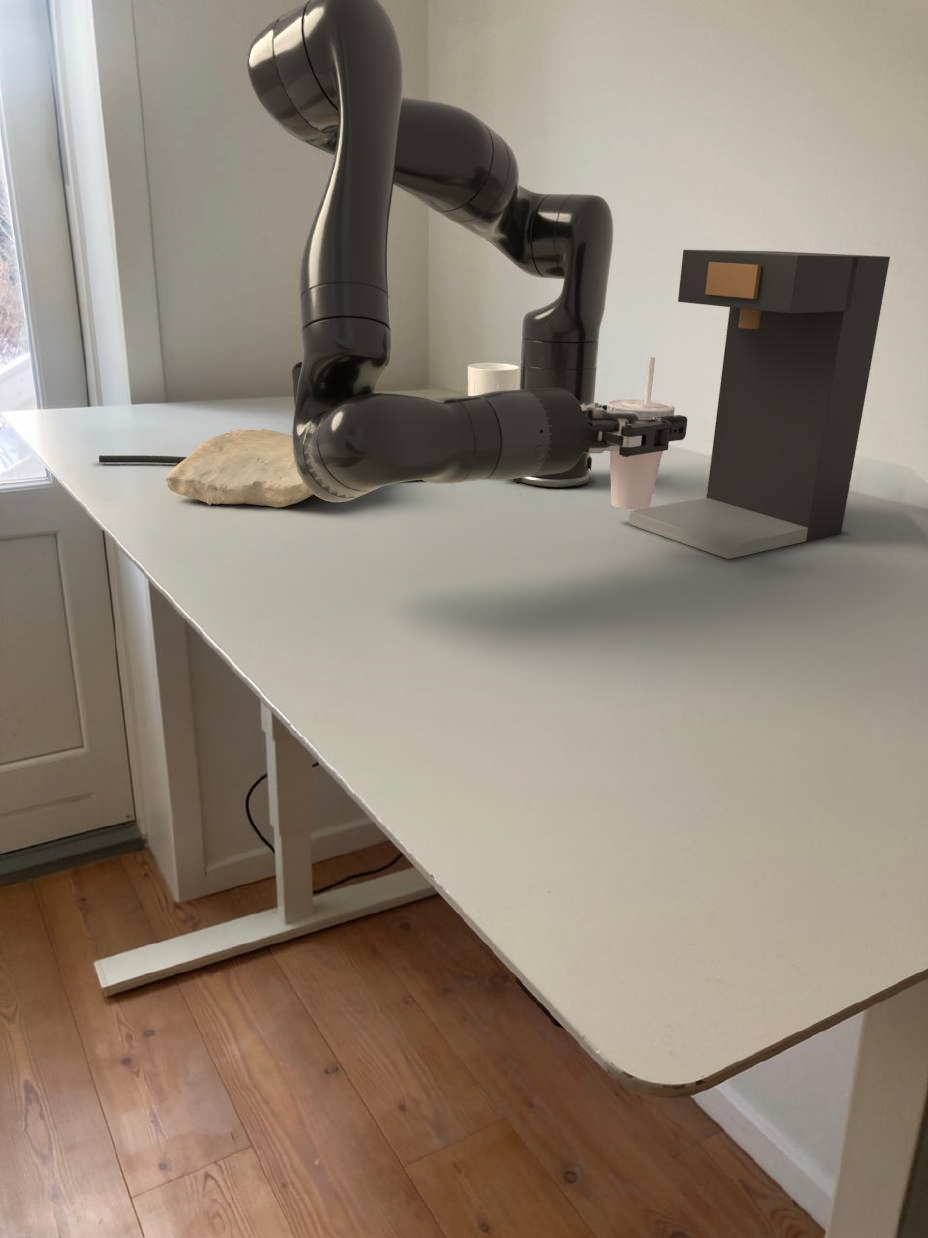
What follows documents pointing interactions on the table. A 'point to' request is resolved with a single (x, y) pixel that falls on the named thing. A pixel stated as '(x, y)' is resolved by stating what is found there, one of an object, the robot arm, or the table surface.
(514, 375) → the white cup
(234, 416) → the table surface
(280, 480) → the beige stone slab
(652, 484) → the smoothie
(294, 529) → the table surface
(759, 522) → the coffee maker
